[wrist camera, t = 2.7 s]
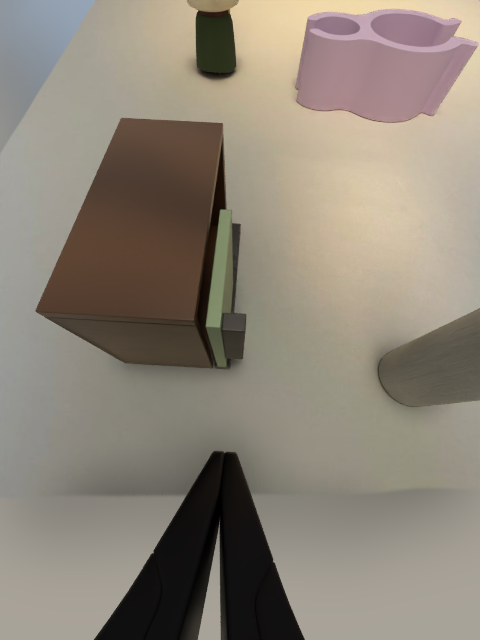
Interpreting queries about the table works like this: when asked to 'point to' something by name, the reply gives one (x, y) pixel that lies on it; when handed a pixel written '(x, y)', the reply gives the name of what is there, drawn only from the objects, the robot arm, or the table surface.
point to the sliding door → (224, 299)
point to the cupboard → (146, 246)
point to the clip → (380, 63)
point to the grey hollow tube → (436, 366)
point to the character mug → (214, 35)
